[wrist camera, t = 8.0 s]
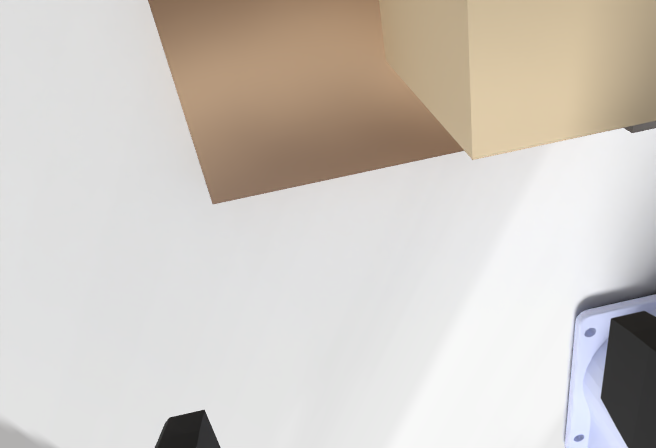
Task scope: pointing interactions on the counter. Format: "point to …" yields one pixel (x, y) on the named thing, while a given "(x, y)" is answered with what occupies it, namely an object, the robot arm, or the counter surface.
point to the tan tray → (292, 93)
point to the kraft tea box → (525, 67)
